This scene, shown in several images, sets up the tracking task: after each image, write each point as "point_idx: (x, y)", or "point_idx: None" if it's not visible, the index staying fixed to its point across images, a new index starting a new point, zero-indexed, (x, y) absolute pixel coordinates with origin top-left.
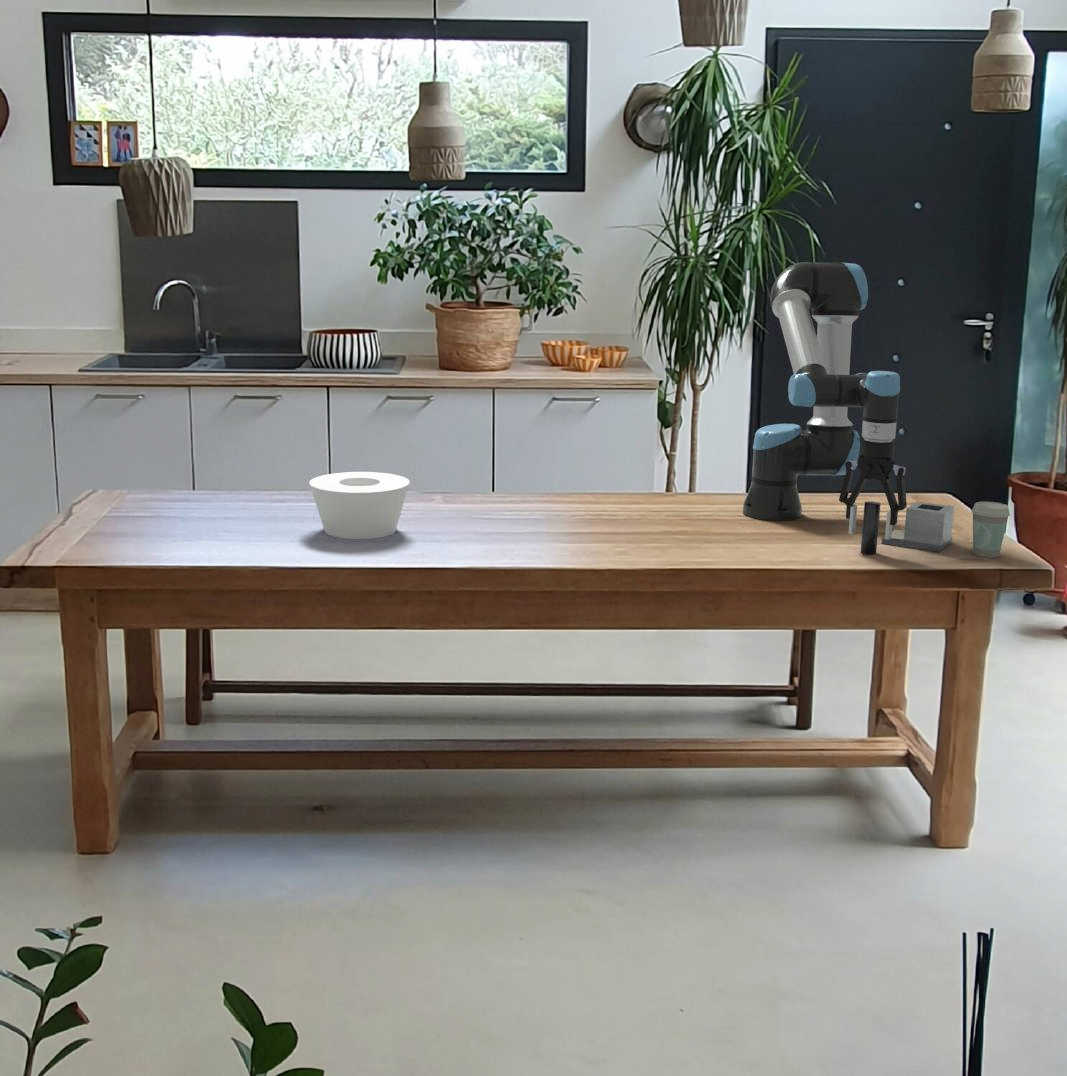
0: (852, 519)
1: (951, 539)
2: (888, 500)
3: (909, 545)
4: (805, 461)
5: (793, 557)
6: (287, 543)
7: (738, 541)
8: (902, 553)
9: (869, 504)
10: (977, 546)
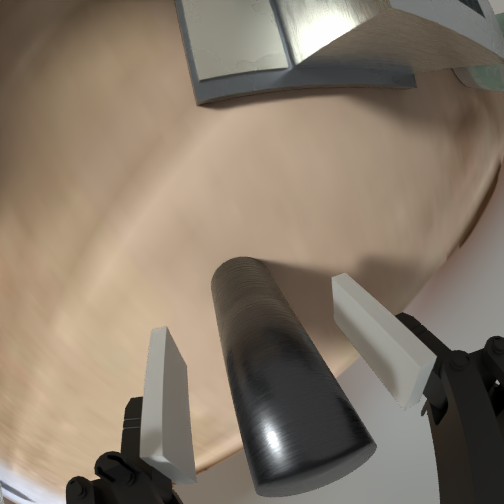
0: (188, 422)
1: None
2: (440, 456)
3: (320, 86)
4: None
5: None
6: (10, 492)
7: (6, 402)
8: (335, 188)
9: (313, 489)
10: (479, 82)
